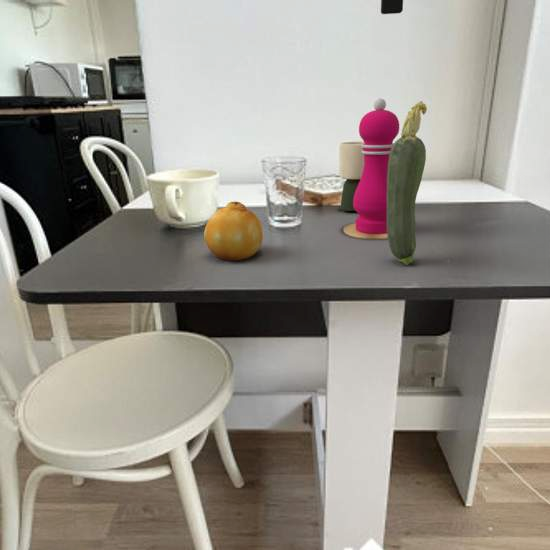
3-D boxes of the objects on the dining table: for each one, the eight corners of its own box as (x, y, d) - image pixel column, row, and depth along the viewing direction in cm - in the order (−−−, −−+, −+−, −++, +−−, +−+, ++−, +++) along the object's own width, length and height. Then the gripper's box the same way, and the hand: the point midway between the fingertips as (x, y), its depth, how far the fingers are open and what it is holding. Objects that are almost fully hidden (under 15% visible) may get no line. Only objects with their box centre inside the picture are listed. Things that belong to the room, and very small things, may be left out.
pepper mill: (379, 237, 67) (386, 98, 60) (343, 229, 73) (345, 100, 65) (406, 228, 72) (415, 96, 65) (370, 221, 77) (375, 98, 70)
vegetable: (380, 266, 57) (388, 102, 50) (384, 256, 61) (392, 102, 54) (416, 269, 56) (429, 100, 48) (418, 258, 59) (431, 100, 52)
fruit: (275, 232, 66) (245, 188, 63) (269, 254, 59) (234, 205, 56) (232, 258, 69) (201, 216, 66) (221, 281, 61) (186, 236, 59)
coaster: (401, 224, 76) (401, 221, 76) (409, 240, 67) (409, 237, 67) (343, 224, 78) (343, 221, 78) (343, 240, 69) (343, 237, 68)
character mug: (388, 214, 83) (392, 143, 78) (356, 219, 81) (358, 146, 76) (356, 204, 93) (358, 139, 88) (327, 208, 90) (327, 142, 85)
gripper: (466, -192, 48) (452, -11, 54) (414, -117, 64) (408, 16, 70) (398, -189, 48) (392, -7, 54) (363, -115, 64) (361, 19, 70)
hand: (401, 6), depth 62 cm, fingers open, 9 cm apart
